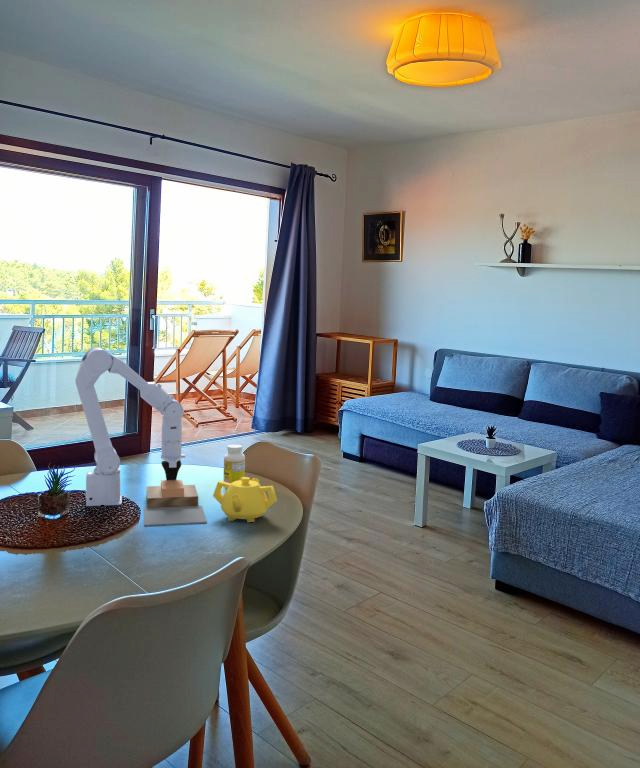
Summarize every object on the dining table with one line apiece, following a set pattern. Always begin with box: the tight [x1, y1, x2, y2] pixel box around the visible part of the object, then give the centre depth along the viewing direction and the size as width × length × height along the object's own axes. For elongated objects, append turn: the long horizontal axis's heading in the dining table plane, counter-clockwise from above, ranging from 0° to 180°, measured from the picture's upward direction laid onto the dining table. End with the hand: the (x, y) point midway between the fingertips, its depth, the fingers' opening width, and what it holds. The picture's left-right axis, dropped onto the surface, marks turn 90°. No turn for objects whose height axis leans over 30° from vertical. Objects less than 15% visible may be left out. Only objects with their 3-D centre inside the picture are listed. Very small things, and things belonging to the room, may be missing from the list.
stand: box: [146, 484, 199, 508], centre depth 200 cm, size 14×12×3 cm
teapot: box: [212, 476, 278, 523], centre depth 188 cm, size 20×18×11 cm
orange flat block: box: [160, 479, 184, 498], centre depth 199 cm, size 6×9×2 cm, turn 15°
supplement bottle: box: [223, 444, 246, 483], centre depth 218 cm, size 7×7×13 cm
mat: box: [143, 505, 208, 527], centre depth 188 cm, size 16×14×1 cm
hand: (171, 485), depth 204 cm, fingers closed
